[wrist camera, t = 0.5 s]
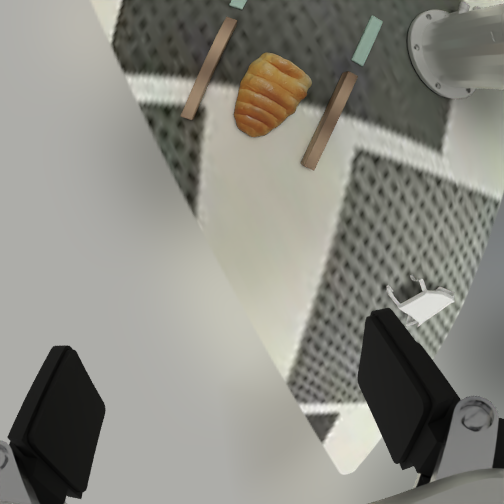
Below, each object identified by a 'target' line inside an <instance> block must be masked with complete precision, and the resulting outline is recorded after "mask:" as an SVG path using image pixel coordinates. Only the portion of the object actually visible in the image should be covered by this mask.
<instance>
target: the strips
mask: <svg viewBox="0 0 504 504" xmlns="http://www.w3.org/2000/svg"><path fill="white" fill-rule="evenodd" d="M246 2H247V0H232V1H231V3H230V5H229V6H231V7H234V8H237V9H240V10H242V9H243V7H244V5H245V4H246ZM382 23H383V22H382V21H381V20H379V19H378V18H376V17H374V16H373V15H372V16H371V17H370V20H369V22H368V24H367V26H366V28H365V30H364V33H363V35H362V37H361V39H360V41H359V44H358V46H357V48H356V50H355V52H354V54H353V57H352V59H351V61H353V62H355V63H357V64H358V65H360V66H363V65H364V63H365V61H366V59H367V56H368V54H369V52H370V50H371V47H372V45H373V43H374V41H375V39H376V36H377V34H378V32H379V30H380V27H381V25H382Z"/></svg>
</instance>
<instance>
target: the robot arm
mask: <svg viewBox="0 0 504 504" xmlns="http://www.w3.org/2000/svg"><path fill="white" fill-rule="evenodd" d="M458 9H459V10H458V11H456V12H453V13H448V12H445V11H442V10H429V11H426V12H423V13H421V14H419V15H418V16H417V17H415V19H414V20H413V21H412V23H411V25H410V28H409V32H408V50H409V55H410V58H411V61H412V64H413V66H414V68H415V70H416V72H417V74H418V75H419V77H420V78H421V80H422V81H423V82H424V83H425V84H426V85H427V86H428V87H429V88H430V89H431V90H432V91H433V92H435V93H437V94H438V95H440V96H443V97H445V98H450V99H462V98H466V97H468V96H470V95H471V94H472V93H473V92H474V91H475V90H476V89H477V88H479V89H496V90H504V4H500V5H495V6H490V7H485V8H480V7H473V10H472V11H469V5H468V4H467V3H466V2H460V5H459V8H458ZM358 384H359V387H360V389H361V391H362V393H363V395H364V397H365V399H366V402H367V404H368V406H369V408H370V410H371V412H372V415H373V417H374V419H375V421H376V423H377V426H378V428H379V430H380V432H381V435H382V437H383V439H384V441H385V443H386V446H387V448H388V450H389V453H390V455H391V457H392V459H393V461H394V463H396V464H398V463H400V466H401V468H402V470H404V469H407V468H410V467H412V466H414V467H415V469H416V471H417V473H418V476H417V479H416V482H415V484H414V487H413V489H411V490H408V491H406V492H403V493H400V494H397V495H394V496H391V497H388V498H385V499H382V500H379V501H375V502H372V503H369V504H504V419H502V418H499V416H498V411H497V409H496V407H495V406H494V405H493V403H492V402H491V401H489V400H487V399H486V398H483V397H480V396H469V397H466V398H464V399H462V400H460V398H459V397H458V395H457V394H456V392H455V391H454V390H453V388H452V387H451V385H450V384H449V383H448V381H447V380H446V378H445V377H444V375H443V374H442V373H441V371H440V370H439V369H438V367H437V366H436V364H435V363H434V362H433V360H432V359H431V357H430V356H429V355H428V353H427V352H426V351H425V349H424V348H423V347H422V346H421V345H420V344H419V343H417V342H416V341H415V340H414V338H413V337H412V336H411V334H410V333H409V332H408V330H407V329H406V328H405V326H404V325H403V324H402V323H401V321H400V320H399V319H398V317H397V316H396V315H395V314H394V312H393V311H392V310H391V309H390V308H385V309H380V310H375V311H372V312H371V315H370V316H369V317H367V318H366V322H365V330H364V337H363V345H362V352H361V358H360V365H359V371H358ZM104 415H105V405H104V402H103V401H102V399H101V397H100V395H99V394H98V392H97V390H96V388H95V387H94V385H93V383H92V381H91V379H90V377H89V375H88V373H87V372H86V370H85V368H84V366H83V364H82V362H81V360H80V358H79V356H78V354H77V352H76V351H75V350H73V349H72V348H71V347H70V346H53V348H52V349H51V351H50V352H49V354H48V356H47V358H46V360H45V361H44V363H43V365H42V367H41V369H40V371H39V373H38V374H37V376H36V378H35V380H34V382H33V384H32V386H31V388H30V390H29V392H28V394H27V396H26V398H25V400H24V402H23V404H22V406H21V409H20V411H19V413H18V415H17V417H16V419H15V422H14V424H13V426H12V428H11V430H10V433H9V435H8V439H9V440H10V441H11V442H10V444H9V445H8V444H7V443H6V442H4V441H0V504H67V503H66V502H65V499H66V495H67V496H68V497H73V498H78V499H81V498H82V493H83V492H84V491H86V489H87V485H88V480H89V476H90V471H91V467H92V463H93V458H94V454H95V450H96V446H97V442H98V438H99V434H100V430H101V426H102V422H103V419H104Z"/></svg>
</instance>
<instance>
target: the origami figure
mask: <svg viewBox="0 0 504 504" xmlns="http://www.w3.org/2000/svg"><path fill="white" fill-rule="evenodd" d="M410 277H411V279H412V280H413V281H418V282H420V285H421V288H422V291H423V292H421V293H419V294H417V295H416V296H414V297H412V298H410V299H408V300H407V301H405V302H403V303H400V302H398V301H397V299H396V298H395V297H394V295H393V294H392V292H393V290H392V289H391V287H390V286H389V285H388V286H386V287H387V291H386V292H387V293H388V295H389V296H390V297H391V299H392V300H393V301H394V302H395V303H396V305H397V306H398V308H399V309H400V310H402V311H403V312H405V313H407V314H408V318H407V323H406V327H407V326H410V325H413V324H416V323H417V324H418V326H419V325H420V324H422V323H423V322H424V321H426V320H427V319H429V318H430V317H432V316H433V315H435V314H436V313H438V312H439V311H440V310H442V309H443V308H445V307H446V306H448V305H449V304H450V303H453V302H454V292H452V291H449V290H447V289H444V288H442V287H438V288H437V289H436V290H439V289H440V290H441V291H428V290H427V289H426V286H425V283H424V280H423V279H415V278H414V276H413V275H411V276H410ZM412 317H413V318H414V320H412Z"/></svg>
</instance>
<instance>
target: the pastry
mask: <svg viewBox="0 0 504 504" xmlns="http://www.w3.org/2000/svg"><path fill="white" fill-rule="evenodd" d="M311 85H312V81H311V79H310V77H309V76H308V75H307V74H305V73H304V71H303V70H301V69H300V68H298V67H297V66H296V65H294V64H293V63H292V62H290V61H289V60H286V59H283V58H282V57H280V56H278V55H275V54H273V53H264V54H262V55H261V57H260V58H258V59H257V60H255V61H254V62H253V63H251V65H250V66H249V68H248V71H247V73H246V74H245V76H244V78H243V79H242V81H241V84H240V88H239V93H238V97H237V101H236V105H235V112H234V117H235V120H236V124H237V127H238V128H239V129H240V130H241V131H243V132H244V133H246V134H248V135H249V136H251V137H257V136H263V135H266V134H267V133H269V132H270V131H271V130H272V129H274V128H276V127H277V126H279V125H280V124H281V123H282V122H283V121H284V120H285V119H286V118H287V117H288V116H289V115H291V114H293V113H295V111H296V107H297V106H298V104H299V103H300V101H301V100H302V99H304V98H305V97H306V95H307V90H308V88H309V87H311Z"/></svg>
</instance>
